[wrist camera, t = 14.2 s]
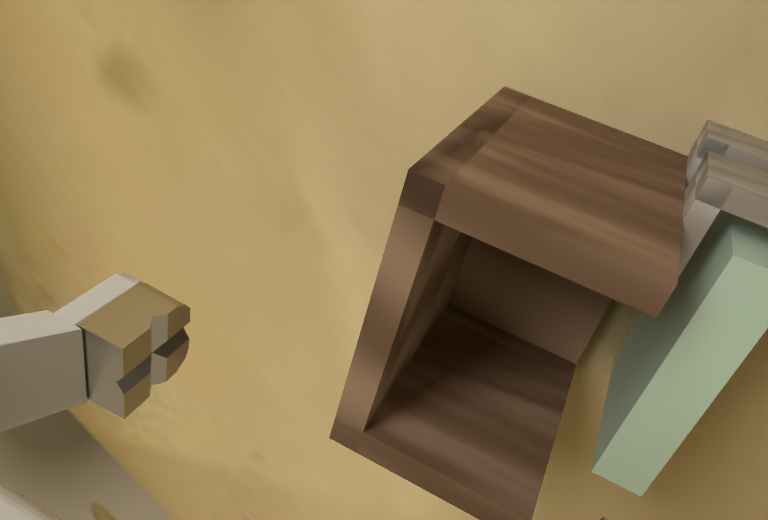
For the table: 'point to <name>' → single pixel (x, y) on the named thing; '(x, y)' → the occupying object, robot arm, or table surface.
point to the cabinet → (521, 287)
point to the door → (684, 353)
